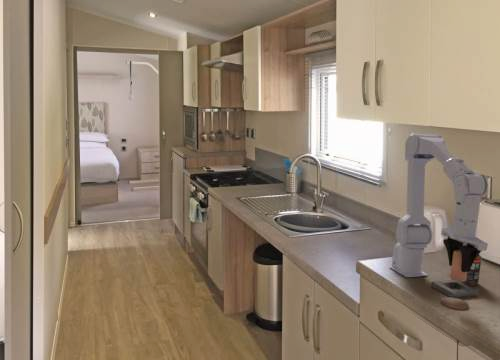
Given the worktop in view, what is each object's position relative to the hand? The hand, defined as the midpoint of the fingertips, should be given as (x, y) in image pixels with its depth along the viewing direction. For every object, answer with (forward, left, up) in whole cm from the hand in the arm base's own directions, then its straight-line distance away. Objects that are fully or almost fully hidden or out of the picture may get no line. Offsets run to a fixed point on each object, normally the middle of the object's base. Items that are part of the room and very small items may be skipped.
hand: (459, 268), depth 134 cm
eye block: (-8, +7, -10) cm, 15 cm away
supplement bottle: (-13, +17, -10) cm, 23 cm away
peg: (0, 0, -3) cm, 3 cm away
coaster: (0, 0, -10) cm, 10 cm away
